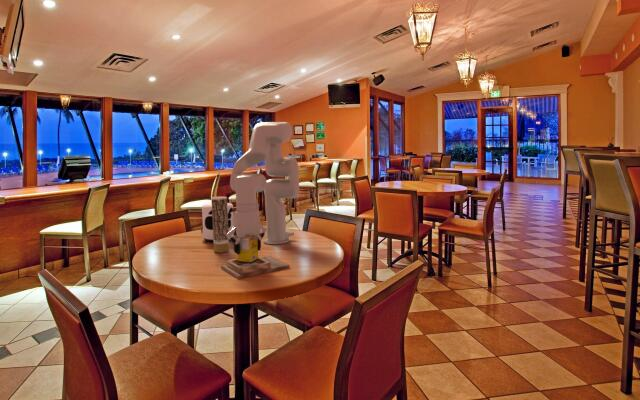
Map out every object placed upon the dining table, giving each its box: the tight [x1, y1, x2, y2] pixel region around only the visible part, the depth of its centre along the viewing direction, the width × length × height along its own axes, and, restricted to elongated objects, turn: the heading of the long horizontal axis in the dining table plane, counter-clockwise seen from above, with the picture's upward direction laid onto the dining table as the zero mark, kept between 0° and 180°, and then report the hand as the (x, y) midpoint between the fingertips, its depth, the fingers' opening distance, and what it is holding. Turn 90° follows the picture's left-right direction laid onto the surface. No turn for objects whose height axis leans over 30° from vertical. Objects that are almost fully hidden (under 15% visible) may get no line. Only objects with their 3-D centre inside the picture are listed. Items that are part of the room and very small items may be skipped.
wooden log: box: [211, 196, 230, 254], centre depth 181 cm, size 7×7×25 cm
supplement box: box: [237, 235, 259, 264], centre depth 154 cm, size 6×6×11 cm
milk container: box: [200, 202, 235, 242], centre depth 204 cm, size 17×17×18 cm
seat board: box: [220, 255, 290, 280], centre depth 157 cm, size 22×16×3 cm
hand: (247, 251), depth 155 cm, fingers closed on supplement box, 8 cm apart
